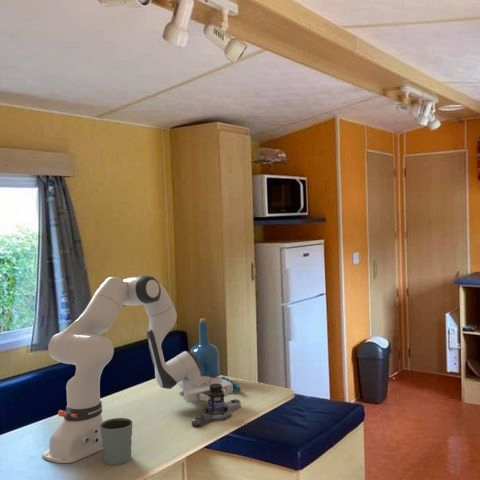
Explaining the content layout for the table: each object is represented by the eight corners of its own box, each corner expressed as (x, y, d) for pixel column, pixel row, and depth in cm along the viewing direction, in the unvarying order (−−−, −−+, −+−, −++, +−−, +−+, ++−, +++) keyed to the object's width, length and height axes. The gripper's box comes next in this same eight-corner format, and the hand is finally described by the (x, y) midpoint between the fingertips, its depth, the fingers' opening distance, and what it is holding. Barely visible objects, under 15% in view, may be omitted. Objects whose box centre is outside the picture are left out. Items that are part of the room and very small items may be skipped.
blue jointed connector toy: (245, 389, 242) (229, 376, 239) (238, 401, 240) (221, 388, 237) (233, 386, 252) (218, 373, 249) (226, 398, 249) (210, 385, 247)
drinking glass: (96, 460, 183) (94, 424, 182) (123, 449, 190) (120, 415, 189) (113, 469, 175) (111, 431, 175) (140, 458, 183) (138, 422, 182)
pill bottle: (215, 417, 213) (214, 388, 212) (205, 413, 217) (204, 385, 217) (227, 413, 217) (226, 385, 216) (217, 409, 221) (216, 381, 221)
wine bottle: (226, 381, 261) (223, 317, 259) (207, 389, 250) (204, 322, 249) (204, 377, 269) (201, 315, 267) (185, 384, 259) (181, 320, 257)
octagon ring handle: (204, 430, 203) (204, 423, 203) (183, 424, 210) (182, 417, 210) (248, 408, 224) (248, 401, 224) (228, 403, 231) (227, 397, 230)
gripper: (177, 385, 222) (192, 394, 210) (222, 375, 233) (239, 383, 221) (177, 400, 222) (193, 410, 211) (222, 390, 233) (240, 399, 221)
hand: (217, 396), depth 216 cm, fingers closed on pill bottle, 6 cm apart
